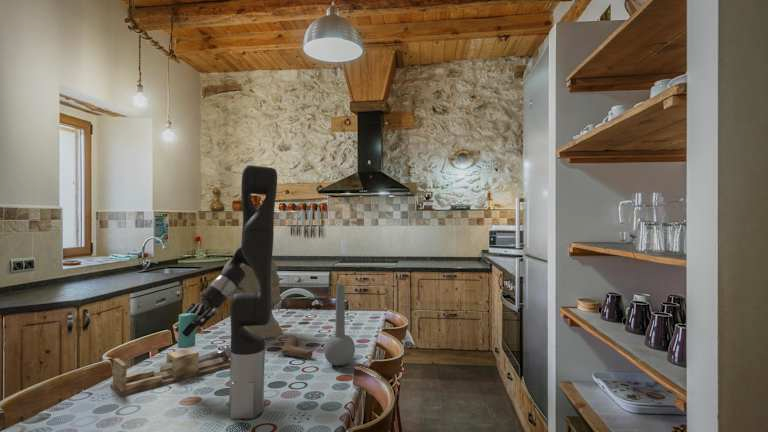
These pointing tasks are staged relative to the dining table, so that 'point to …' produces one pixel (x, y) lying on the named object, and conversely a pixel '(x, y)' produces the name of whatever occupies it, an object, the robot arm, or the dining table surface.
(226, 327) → the dining table surface
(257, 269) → the robot arm
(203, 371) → the rig
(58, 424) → the dining table surface
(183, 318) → the cylinder
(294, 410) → the dining table surface
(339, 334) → the grey ball with stem
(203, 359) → the shaft
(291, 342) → the pipe
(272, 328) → the bust
